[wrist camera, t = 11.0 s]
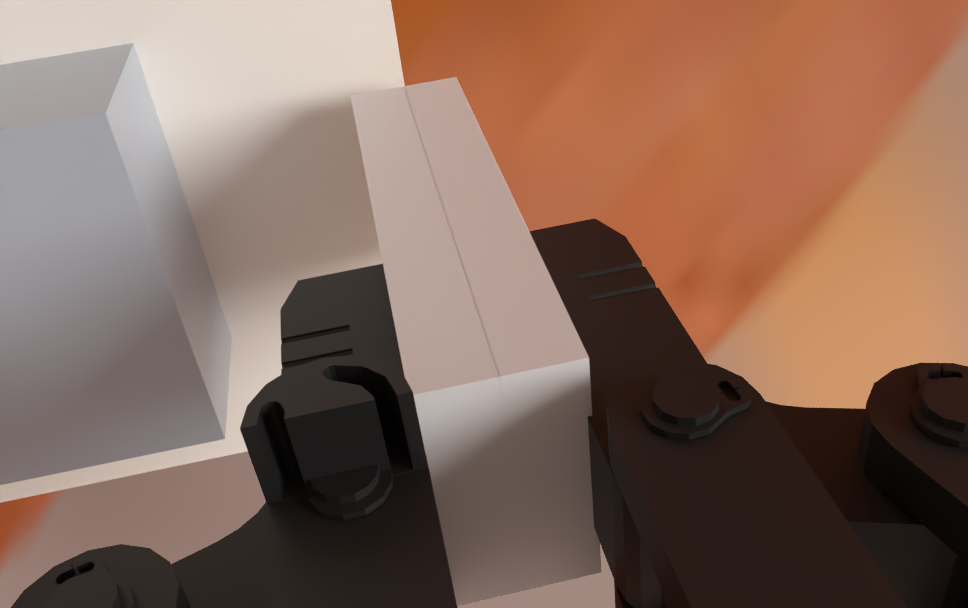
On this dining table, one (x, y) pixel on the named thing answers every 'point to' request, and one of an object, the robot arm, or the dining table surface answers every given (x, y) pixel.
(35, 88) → the slate tile
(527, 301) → the robot arm
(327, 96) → the raised board
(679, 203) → the dining table surface
